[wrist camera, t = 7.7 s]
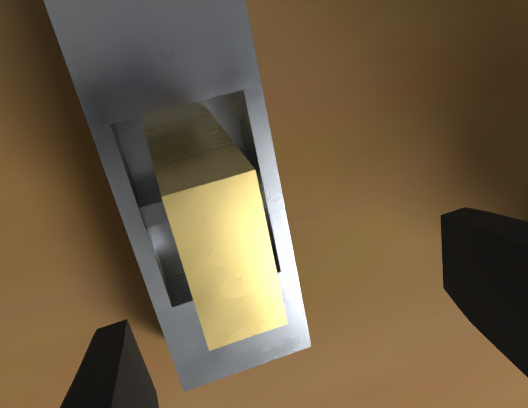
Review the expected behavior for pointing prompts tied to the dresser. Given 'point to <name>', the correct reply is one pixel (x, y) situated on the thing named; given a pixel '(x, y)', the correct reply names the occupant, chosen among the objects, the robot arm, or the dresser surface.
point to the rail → (168, 112)
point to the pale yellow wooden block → (218, 229)
